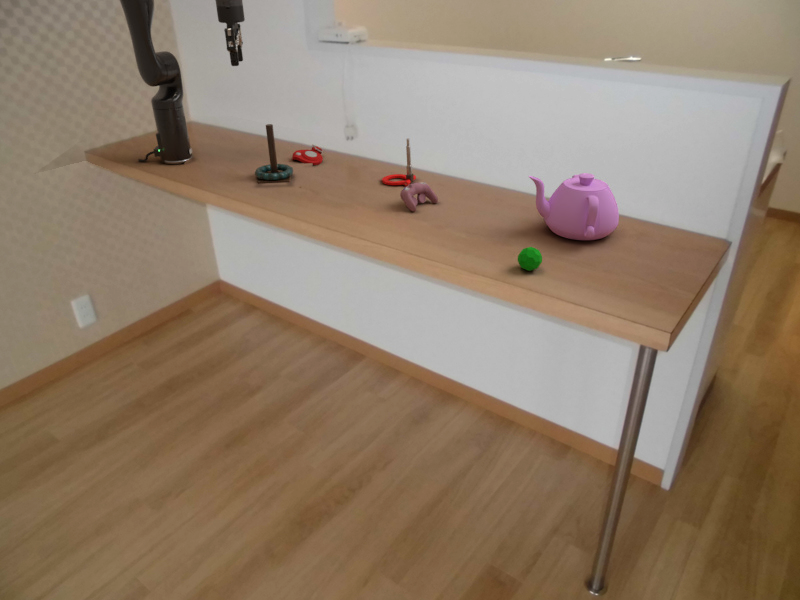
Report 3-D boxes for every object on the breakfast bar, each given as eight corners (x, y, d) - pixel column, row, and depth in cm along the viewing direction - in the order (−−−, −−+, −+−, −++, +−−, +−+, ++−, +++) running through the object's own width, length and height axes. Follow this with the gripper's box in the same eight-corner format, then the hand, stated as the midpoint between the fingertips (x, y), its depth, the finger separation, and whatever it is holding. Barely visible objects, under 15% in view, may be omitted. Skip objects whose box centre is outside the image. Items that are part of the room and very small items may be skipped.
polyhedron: (512, 269, 130) (514, 248, 128) (525, 261, 133) (527, 241, 131) (532, 276, 127) (534, 255, 125) (545, 269, 130) (547, 248, 127)
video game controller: (429, 205, 168) (421, 180, 166) (440, 201, 164) (432, 176, 163) (403, 215, 162) (394, 189, 160) (414, 211, 158) (405, 185, 157)
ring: (253, 182, 177) (253, 175, 176) (257, 170, 187) (256, 163, 186) (292, 180, 178) (291, 173, 177) (294, 168, 188) (293, 162, 187)
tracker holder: (324, 162, 194) (292, 156, 192) (322, 174, 197) (290, 168, 195) (324, 143, 203) (294, 137, 201) (322, 155, 206) (292, 149, 204)
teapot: (517, 213, 157) (522, 160, 151) (603, 213, 157) (611, 160, 150) (530, 249, 138) (536, 191, 131) (628, 250, 137) (639, 191, 131)
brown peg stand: (258, 186, 178) (251, 129, 170) (262, 176, 186) (255, 121, 178) (289, 185, 179) (283, 128, 171) (292, 175, 187) (286, 120, 178)
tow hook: (377, 185, 179) (407, 187, 175) (374, 141, 173) (405, 142, 169) (389, 177, 186) (417, 179, 182) (386, 134, 179) (415, 135, 176)
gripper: (220, 2, 183) (228, 60, 191) (211, 6, 171) (220, 67, 179) (245, 2, 184) (253, 59, 192) (239, 5, 171) (246, 67, 179)
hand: (237, 63), depth 185 cm, fingers open, 8 cm apart
